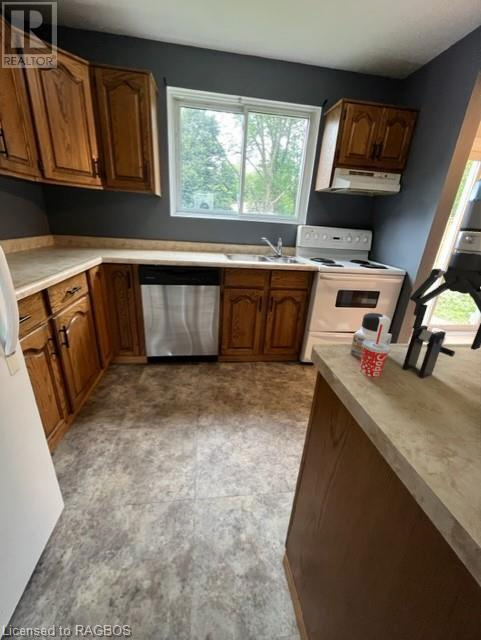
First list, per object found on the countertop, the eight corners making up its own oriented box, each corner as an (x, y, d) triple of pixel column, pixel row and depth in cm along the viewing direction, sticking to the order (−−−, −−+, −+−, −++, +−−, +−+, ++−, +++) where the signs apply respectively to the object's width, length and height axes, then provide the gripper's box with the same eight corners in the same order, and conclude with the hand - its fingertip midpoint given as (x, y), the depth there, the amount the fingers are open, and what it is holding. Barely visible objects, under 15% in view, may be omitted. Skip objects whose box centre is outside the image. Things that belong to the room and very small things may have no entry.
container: (348, 358, 76) (357, 314, 72) (358, 349, 82) (367, 308, 77) (377, 368, 71) (388, 322, 67) (386, 359, 77) (397, 315, 72)
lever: (426, 349, 73) (431, 341, 73) (451, 359, 68) (456, 350, 68) (410, 334, 66) (415, 326, 66) (436, 344, 61) (442, 335, 61)
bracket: (411, 363, 75) (424, 320, 70) (447, 380, 68) (464, 333, 63) (384, 373, 69) (396, 327, 65) (420, 392, 62) (436, 341, 57)
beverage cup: (359, 382, 65) (372, 328, 60) (352, 369, 70) (363, 319, 65) (386, 385, 64) (401, 330, 59) (377, 371, 70) (389, 321, 65)
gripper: (409, 246, 70) (389, 322, 78) (543, 261, 50) (498, 362, 57) (425, 246, 74) (404, 319, 81) (556, 260, 53) (512, 355, 61)
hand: (443, 337), depth 69 cm, fingers open, 13 cm apart
